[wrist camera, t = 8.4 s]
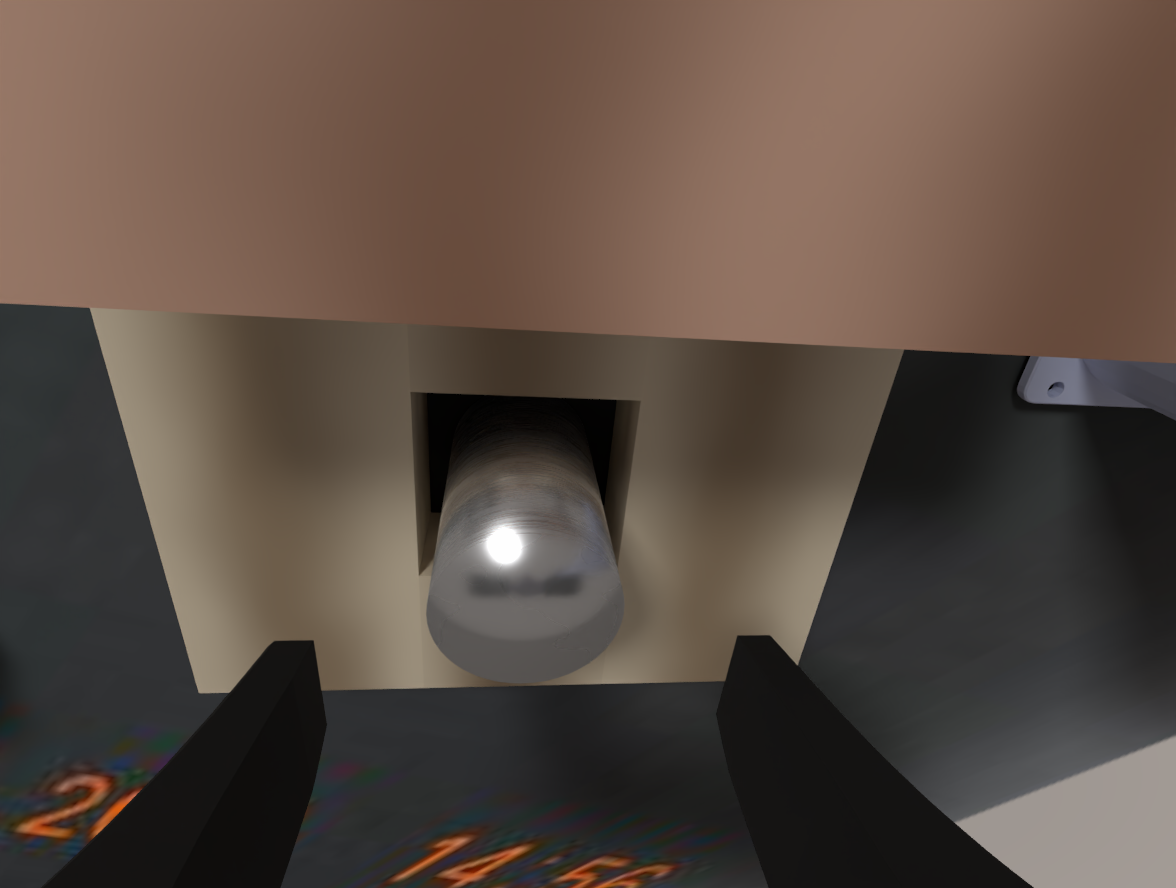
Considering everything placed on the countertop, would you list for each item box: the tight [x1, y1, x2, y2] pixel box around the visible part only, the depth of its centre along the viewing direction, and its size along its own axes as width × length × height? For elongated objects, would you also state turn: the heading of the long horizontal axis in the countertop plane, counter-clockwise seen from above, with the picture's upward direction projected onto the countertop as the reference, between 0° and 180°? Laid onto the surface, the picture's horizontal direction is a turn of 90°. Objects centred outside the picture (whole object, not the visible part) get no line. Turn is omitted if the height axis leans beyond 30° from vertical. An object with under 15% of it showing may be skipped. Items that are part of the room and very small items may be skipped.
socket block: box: [0, 0, 1176, 693], centre depth 13 cm, size 19×20×10 cm
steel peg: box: [426, 395, 625, 683], centre depth 16 cm, size 4×4×7 cm
